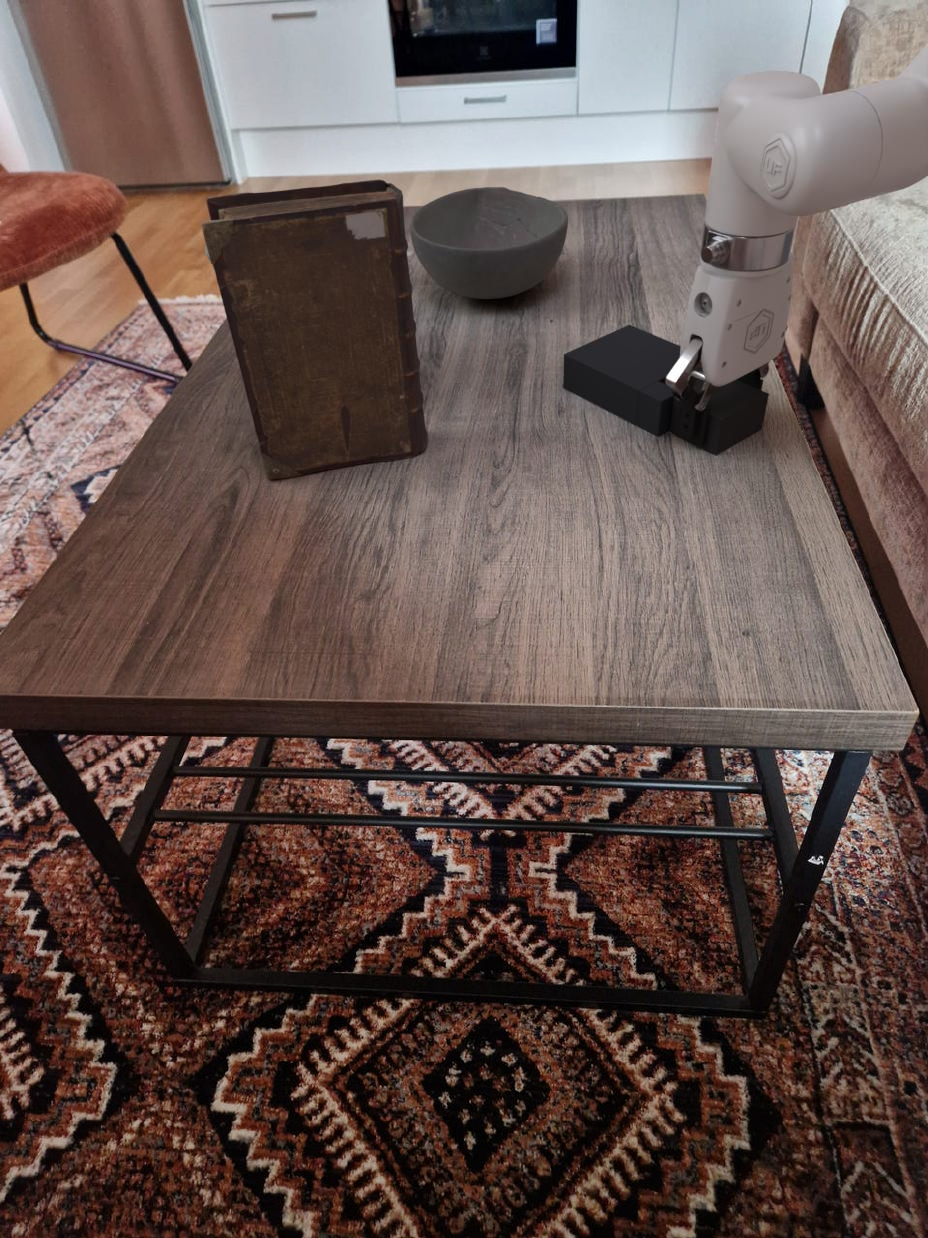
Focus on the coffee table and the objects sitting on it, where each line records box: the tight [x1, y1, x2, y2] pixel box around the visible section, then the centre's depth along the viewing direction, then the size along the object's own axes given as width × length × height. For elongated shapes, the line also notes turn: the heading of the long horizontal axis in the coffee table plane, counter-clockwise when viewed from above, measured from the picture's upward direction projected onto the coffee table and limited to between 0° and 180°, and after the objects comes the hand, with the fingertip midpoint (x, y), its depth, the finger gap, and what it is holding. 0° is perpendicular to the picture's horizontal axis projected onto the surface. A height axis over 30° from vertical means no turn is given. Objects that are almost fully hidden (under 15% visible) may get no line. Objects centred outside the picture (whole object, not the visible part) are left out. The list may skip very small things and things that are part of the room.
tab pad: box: [665, 379, 770, 456], centre depth 85 cm, size 9×7×4 cm
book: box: [201, 179, 429, 481], centre depth 78 cm, size 17×7×25 cm, turn 95°
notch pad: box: [562, 324, 703, 437], centre depth 90 cm, size 14×10×4 cm
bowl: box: [409, 186, 569, 300], centre depth 110 cm, size 20×20×10 cm
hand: (717, 423), depth 85 cm, fingers closed on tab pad, 7 cm apart
